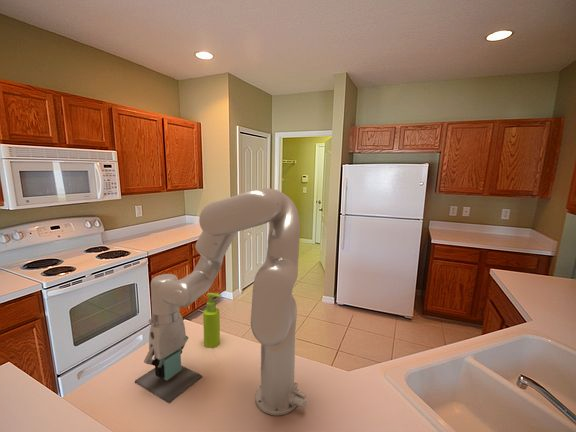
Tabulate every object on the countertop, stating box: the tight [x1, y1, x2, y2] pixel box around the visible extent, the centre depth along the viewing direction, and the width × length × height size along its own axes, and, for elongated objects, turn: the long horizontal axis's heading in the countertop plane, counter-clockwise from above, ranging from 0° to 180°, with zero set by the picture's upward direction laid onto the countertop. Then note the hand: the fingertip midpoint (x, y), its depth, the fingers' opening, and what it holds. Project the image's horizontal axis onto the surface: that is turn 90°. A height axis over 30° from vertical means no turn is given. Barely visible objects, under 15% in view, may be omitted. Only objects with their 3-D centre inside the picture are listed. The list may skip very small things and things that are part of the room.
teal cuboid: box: [158, 350, 182, 380], centre depth 84 cm, size 5×5×7 cm
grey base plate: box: [134, 364, 203, 404], centre depth 84 cm, size 16×12×7 cm
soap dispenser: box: [202, 292, 222, 349], centre depth 103 cm, size 6×7×20 cm
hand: (168, 370), depth 84 cm, fingers closed on teal cuboid, 5 cm apart
